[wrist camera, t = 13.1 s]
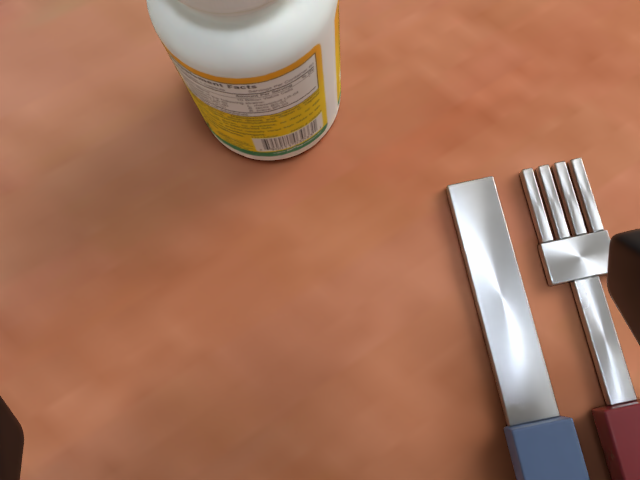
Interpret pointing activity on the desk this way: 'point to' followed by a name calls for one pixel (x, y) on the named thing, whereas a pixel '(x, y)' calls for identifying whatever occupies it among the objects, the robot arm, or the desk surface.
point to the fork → (588, 300)
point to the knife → (513, 339)
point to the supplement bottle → (257, 68)
